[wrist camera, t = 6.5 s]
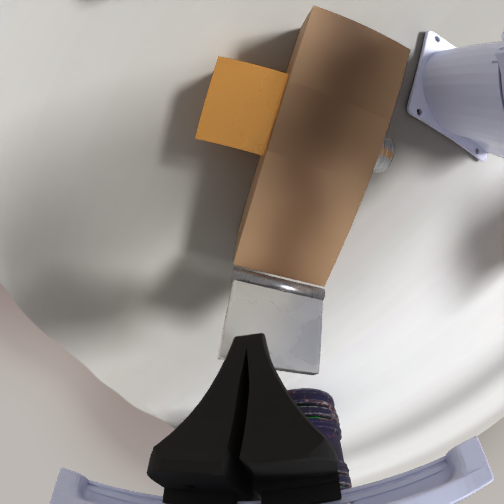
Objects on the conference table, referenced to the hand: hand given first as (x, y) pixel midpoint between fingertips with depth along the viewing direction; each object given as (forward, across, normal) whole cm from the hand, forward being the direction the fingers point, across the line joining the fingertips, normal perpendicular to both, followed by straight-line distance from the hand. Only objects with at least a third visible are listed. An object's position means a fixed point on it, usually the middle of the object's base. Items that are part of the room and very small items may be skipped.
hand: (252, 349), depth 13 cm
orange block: (+10, -5, -9) cm, 15 cm away
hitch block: (+10, -5, -7) cm, 14 cm away
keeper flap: (+4, -1, +2) cm, 4 cm away
